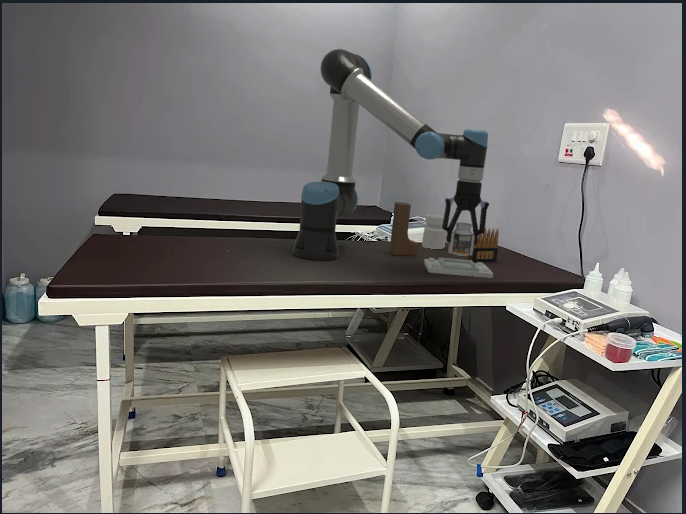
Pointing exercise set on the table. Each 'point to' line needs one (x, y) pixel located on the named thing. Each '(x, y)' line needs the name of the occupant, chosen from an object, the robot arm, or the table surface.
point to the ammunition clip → (486, 247)
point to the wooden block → (402, 232)
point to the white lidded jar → (434, 232)
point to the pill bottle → (462, 239)
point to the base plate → (457, 267)
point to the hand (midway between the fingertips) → (459, 253)
